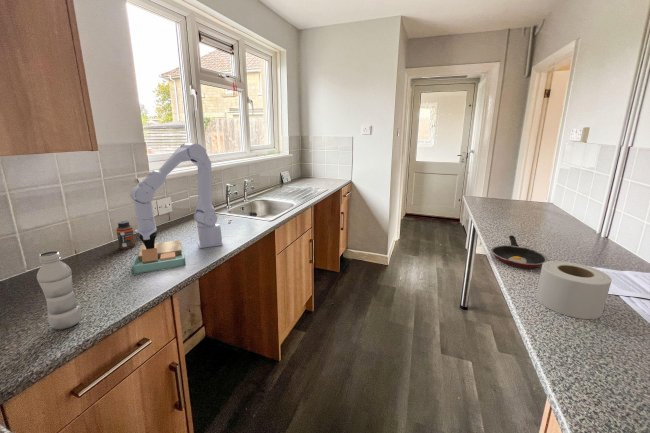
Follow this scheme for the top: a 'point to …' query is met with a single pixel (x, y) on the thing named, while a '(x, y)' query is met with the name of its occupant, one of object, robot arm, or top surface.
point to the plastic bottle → (58, 291)
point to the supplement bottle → (125, 235)
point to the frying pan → (518, 255)
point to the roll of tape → (573, 289)
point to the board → (164, 248)
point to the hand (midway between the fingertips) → (151, 251)
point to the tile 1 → (149, 255)
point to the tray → (157, 264)
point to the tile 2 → (168, 256)
